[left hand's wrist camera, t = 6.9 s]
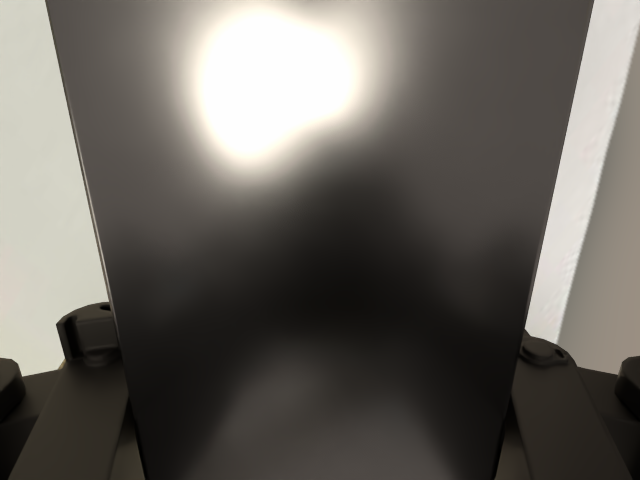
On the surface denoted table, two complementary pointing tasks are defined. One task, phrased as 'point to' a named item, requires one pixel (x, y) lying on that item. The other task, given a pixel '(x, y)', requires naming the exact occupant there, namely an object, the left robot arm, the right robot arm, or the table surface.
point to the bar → (319, 221)
